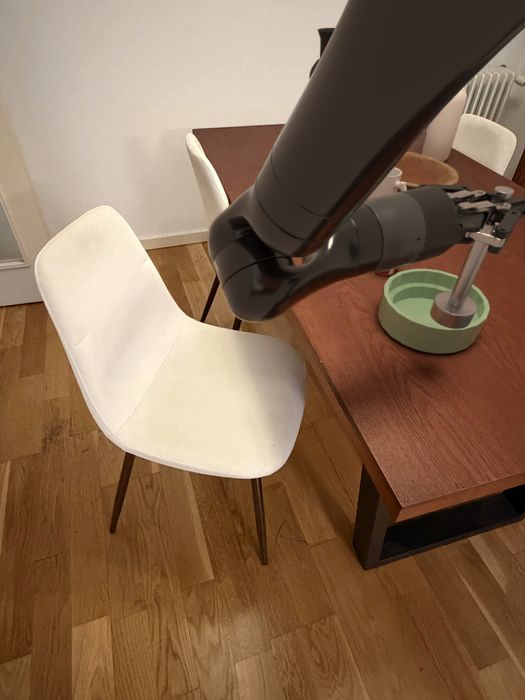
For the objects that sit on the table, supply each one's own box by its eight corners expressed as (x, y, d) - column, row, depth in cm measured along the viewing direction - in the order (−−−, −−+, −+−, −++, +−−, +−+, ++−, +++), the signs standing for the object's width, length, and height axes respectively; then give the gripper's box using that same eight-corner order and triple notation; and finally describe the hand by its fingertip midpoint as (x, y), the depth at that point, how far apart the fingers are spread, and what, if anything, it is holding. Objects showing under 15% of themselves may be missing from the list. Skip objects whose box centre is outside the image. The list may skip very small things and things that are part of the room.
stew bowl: (494, 327, 74) (508, 300, 69) (439, 371, 66) (452, 345, 61) (414, 283, 83) (422, 258, 79) (357, 317, 75) (363, 292, 71)
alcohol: (453, 161, 134) (488, 50, 113) (429, 163, 132) (460, 51, 111) (438, 152, 140) (470, 45, 119) (416, 154, 138) (443, 46, 117)
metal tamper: (478, 318, 57) (541, 190, 45) (456, 334, 55) (517, 204, 42) (443, 299, 61) (493, 175, 48) (422, 314, 58) (468, 187, 45)
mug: (358, 217, 105) (367, 170, 96) (375, 210, 108) (385, 163, 99) (389, 232, 99) (401, 183, 91) (406, 223, 102) (419, 176, 94)
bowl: (414, 220, 103) (423, 189, 98) (349, 189, 117) (353, 161, 112) (468, 197, 113) (479, 168, 108) (402, 171, 127) (408, 144, 122)
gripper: (457, 226, 35) (589, 192, 40) (365, 171, 44) (483, 149, 49) (431, 295, 40) (551, 258, 45) (354, 233, 49) (461, 208, 54)
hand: (515, 201), depth 47 cm, fingers closed on metal tamper
